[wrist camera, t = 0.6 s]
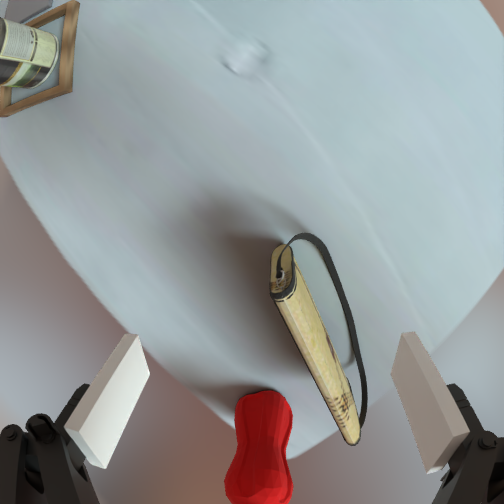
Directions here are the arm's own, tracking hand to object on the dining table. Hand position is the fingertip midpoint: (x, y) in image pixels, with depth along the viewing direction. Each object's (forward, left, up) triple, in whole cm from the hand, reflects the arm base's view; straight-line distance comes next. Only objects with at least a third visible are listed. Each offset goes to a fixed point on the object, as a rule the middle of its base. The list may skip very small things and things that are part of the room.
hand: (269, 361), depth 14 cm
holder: (-29, -37, -27) cm, 54 cm away
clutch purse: (+14, +8, -27) cm, 32 cm away
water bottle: (+35, -1, -27) cm, 44 cm away
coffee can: (-29, -37, -27) cm, 55 cm away
